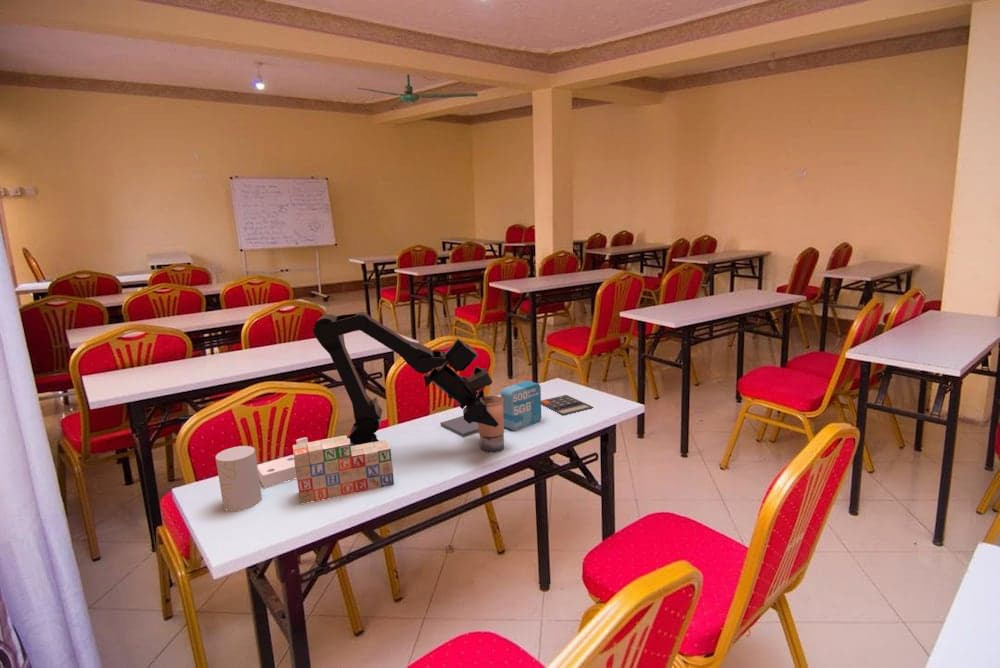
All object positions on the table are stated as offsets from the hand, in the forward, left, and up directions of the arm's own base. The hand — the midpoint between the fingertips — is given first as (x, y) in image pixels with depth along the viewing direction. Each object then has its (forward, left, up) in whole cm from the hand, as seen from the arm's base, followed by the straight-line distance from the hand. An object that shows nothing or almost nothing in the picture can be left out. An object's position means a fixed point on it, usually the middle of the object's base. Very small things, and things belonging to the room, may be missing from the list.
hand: (496, 420), depth 157 cm
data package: (+15, +10, -8) cm, 19 cm away
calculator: (+35, +15, -8) cm, 39 cm away
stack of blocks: (-41, +2, -8) cm, 42 cm away
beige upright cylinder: (-62, +11, -8) cm, 64 cm away
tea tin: (-1, +1, -8) cm, 8 cm away
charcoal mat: (+2, +19, -8) cm, 20 cm away
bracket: (-50, +19, -8) cm, 54 cm away
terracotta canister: (-1, +1, -3) cm, 3 cm away
